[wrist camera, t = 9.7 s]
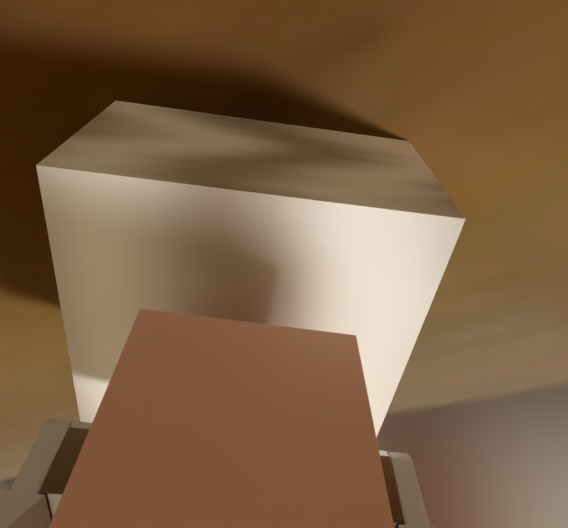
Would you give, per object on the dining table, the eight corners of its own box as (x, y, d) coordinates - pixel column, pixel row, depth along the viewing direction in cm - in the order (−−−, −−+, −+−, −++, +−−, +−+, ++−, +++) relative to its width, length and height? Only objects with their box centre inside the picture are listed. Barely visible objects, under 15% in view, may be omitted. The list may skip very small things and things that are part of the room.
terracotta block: (355, 334, 11) (404, 575, 6) (313, 459, 13) (327, 684, 9) (139, 308, 10) (39, 549, 6) (141, 442, 13) (74, 672, 9)
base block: (407, 139, 16) (465, 219, 11) (346, 345, 21) (366, 461, 16) (117, 99, 15) (35, 165, 10) (132, 324, 20) (83, 439, 15)
